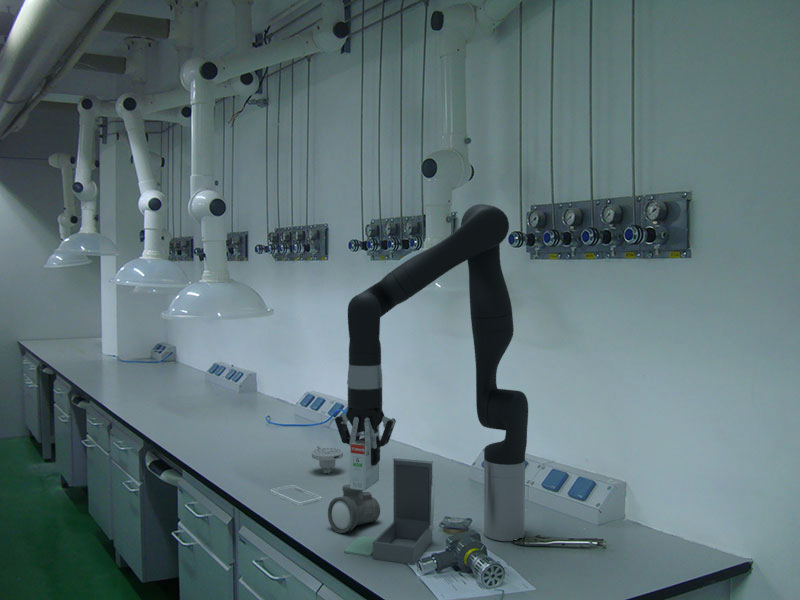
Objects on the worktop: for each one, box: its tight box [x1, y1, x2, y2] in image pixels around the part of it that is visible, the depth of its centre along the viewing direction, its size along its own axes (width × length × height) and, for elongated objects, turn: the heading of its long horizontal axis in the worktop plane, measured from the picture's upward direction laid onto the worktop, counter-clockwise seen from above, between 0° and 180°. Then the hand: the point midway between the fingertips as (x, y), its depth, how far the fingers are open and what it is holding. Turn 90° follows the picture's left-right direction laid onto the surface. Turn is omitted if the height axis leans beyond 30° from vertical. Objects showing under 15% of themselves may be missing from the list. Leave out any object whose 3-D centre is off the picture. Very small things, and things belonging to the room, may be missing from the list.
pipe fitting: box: [327, 483, 381, 534], centre depth 161 cm, size 12×8×10 cm, turn 137°
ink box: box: [349, 421, 380, 492], centre depth 147 cm, size 4×8×15 cm, turn 158°
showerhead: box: [311, 445, 344, 474], centre depth 206 cm, size 9×7×10 cm
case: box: [372, 456, 436, 565], centre depth 146 cm, size 14×10×18 cm
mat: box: [343, 535, 377, 557], centre depth 148 cm, size 9×6×1 cm, turn 161°
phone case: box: [269, 484, 323, 507], centre depth 183 cm, size 7×1×15 cm
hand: (365, 463), depth 147 cm, fingers closed on ink box, 3 cm apart
